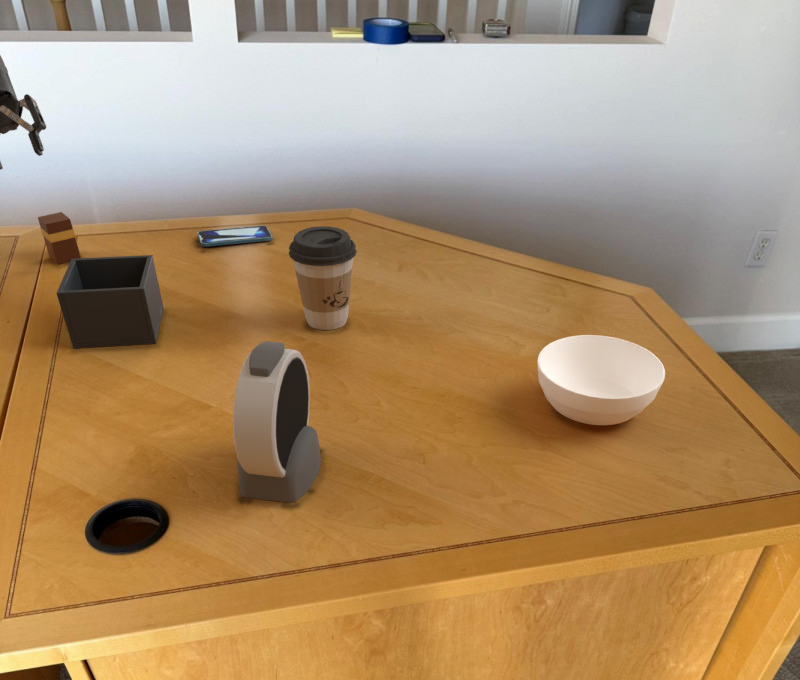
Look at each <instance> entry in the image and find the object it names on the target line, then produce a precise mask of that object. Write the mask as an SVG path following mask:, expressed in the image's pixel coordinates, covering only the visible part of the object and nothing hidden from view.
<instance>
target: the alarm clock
mask: <svg viewBox="0 0 800 680" xmlns="http://www.w3.org/2000/svg"><path fill="white" fill-rule="evenodd" d="M310 392H311V391H310V377H309V370H308V368H307V363H306V360H305V358H304V357H303V355H302V352H300V351H298V350H297V349H291V348H285V344H284V343H283V342H279V341H278V342H277V341H267V340H266V341H264V342H260V343H259V344H257V345H256V346H255V347H254V348H253V349H252V350H251V351H250V352H249V354H248V355H247V356H246V358H245V359H244V361H243V364H242V366H241V368H240V372H239V375H238V379H237V383H236V387H235V394H234V400H233V401H234V402H233V412H232V420H233V421H232V434H233V441H234V449H235V454H236V457H237V477H238V484H239V492H240V496H241V497H243V498H247V499H255V500H263V501H273V502H281V503H289V504H292V503H296V502H298V501H299V500H300V499H301V498H302V497H304V495H306V493H307V492H308V491H309V490H310V488H311V487H312V486H313V485H314V483H315V481H316V479H317V477H318V475H319V472H320V469H321V460H322V459H321V458H322V457H321V448H320V447H321V446H320V440H319V436H318V432H317V430H316V429H315V428H314V427H313V426H311V425H309V420H310V409H311V408H310V402H311V393H310Z"/></svg>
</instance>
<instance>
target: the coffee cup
mask: <svg viewBox="0 0 800 680" xmlns="http://www.w3.org/2000/svg"><path fill="white" fill-rule="evenodd" d="M356 248H357V245H356V243H355V242H354V240H352V239H351V235H350V234H349V232H347V231H346V230H344V229H342V228H340V227H335V226H327V225H326V226H325V225H324V226H323V225H322V226H321V225H320V226H311V227H306V228H304V229H302V230H299V231H298V232H296V233H295V234H294V236H293V241H291V242H290V244H289V245H288V250H289V251H288V255H289V258H290V259H291V260H292V262H293V267H294V271H295V276H296V280H297V284H298V289H299V294H300V300H301V304H302V308H303V312H304V317H305V320H306V323H307V325H308V326H309V327H310V328H312V329H314V330H319V331H332V330H336V329H340V328H342V327H344V326H345V325H346V324H347V321H348V318H349V311H350V310H349V309H350V299H351V287H352V276H353V266H354V257H356V256H357V252H358V250H357V249H356Z"/></svg>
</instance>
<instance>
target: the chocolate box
mask: <svg viewBox="0 0 800 680" xmlns="http://www.w3.org/2000/svg"><path fill="white" fill-rule="evenodd" d="M37 221H38V224H39V227H40V231H41V235H42V236H43V240H44V243H45V247H46V250H47V252H48V257H49V258H50V259H51V260H52V261H53V262H54V263H55V264H57V265H62V264H65V263H70V261H71V259H77V258H82V257H81V253H80V250H79V246H78V243H77V239H76V238H77V237H76V235H75V230H74V228H73V224H72V221H71V219H70V218H69V217H68V216H67V215H66V213H64V212H62V211H60V212H55V213H50V214H46V215H42V216H41V215H40V216H38V217H37Z"/></svg>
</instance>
